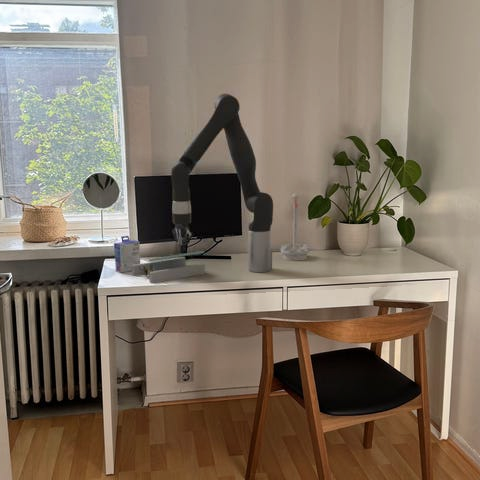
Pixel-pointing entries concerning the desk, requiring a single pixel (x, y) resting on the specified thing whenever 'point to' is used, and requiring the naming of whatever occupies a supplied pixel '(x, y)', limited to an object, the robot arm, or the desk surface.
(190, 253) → the cover
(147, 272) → the eagle figurine
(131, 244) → the ink cartridge box
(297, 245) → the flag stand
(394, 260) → the desk surface
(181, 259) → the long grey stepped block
